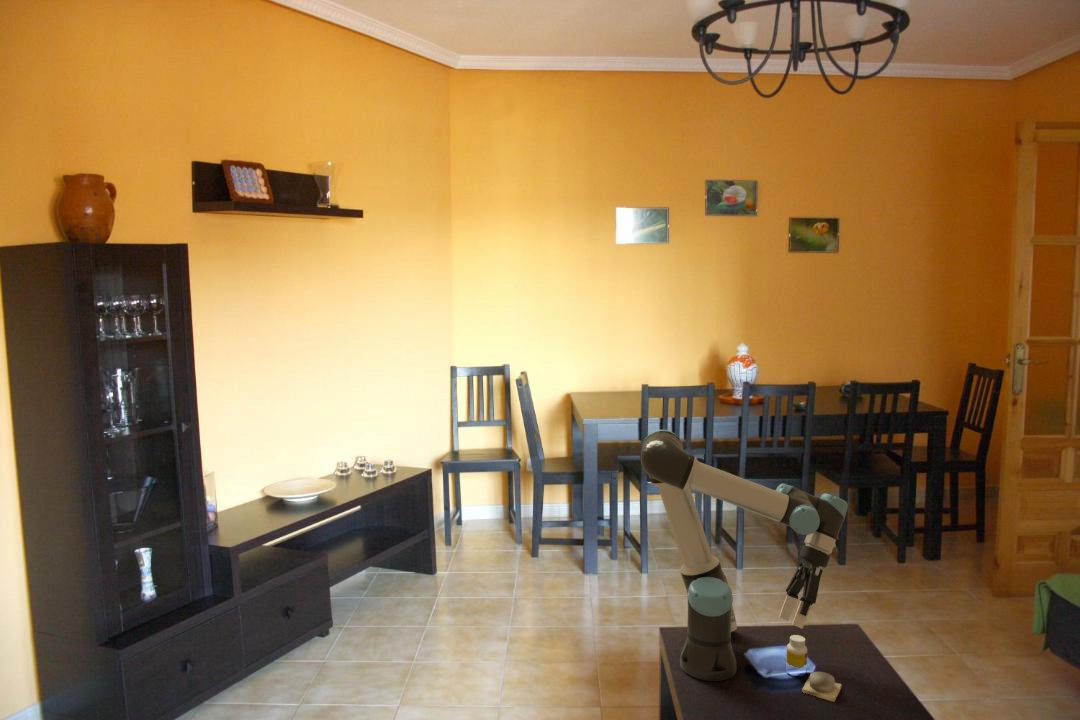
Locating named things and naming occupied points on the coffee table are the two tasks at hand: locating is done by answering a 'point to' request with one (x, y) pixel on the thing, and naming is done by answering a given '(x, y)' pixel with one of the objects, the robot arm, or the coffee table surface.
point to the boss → (822, 686)
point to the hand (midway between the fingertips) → (790, 622)
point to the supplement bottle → (796, 651)
